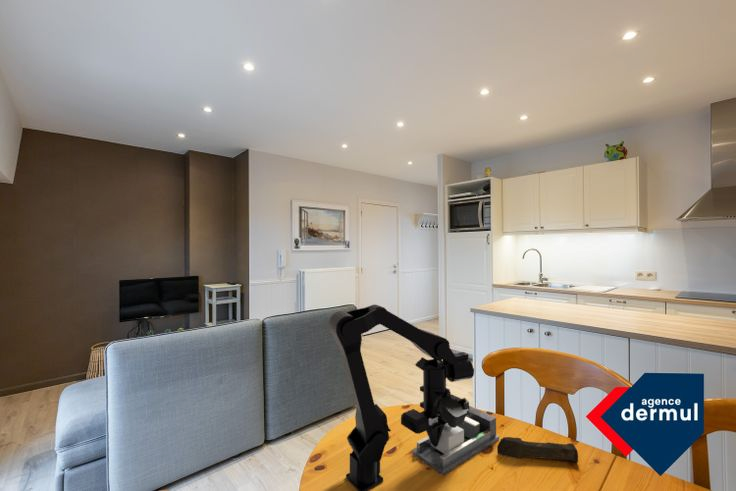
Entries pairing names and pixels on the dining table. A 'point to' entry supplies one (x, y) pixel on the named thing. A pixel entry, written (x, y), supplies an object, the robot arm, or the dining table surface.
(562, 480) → the dining table surface
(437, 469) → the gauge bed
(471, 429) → the white flat block
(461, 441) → the knobbed white cube
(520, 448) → the hand tool
